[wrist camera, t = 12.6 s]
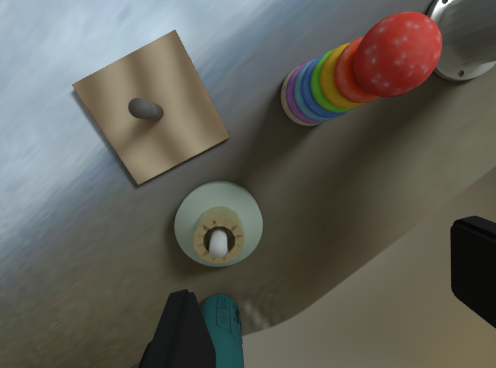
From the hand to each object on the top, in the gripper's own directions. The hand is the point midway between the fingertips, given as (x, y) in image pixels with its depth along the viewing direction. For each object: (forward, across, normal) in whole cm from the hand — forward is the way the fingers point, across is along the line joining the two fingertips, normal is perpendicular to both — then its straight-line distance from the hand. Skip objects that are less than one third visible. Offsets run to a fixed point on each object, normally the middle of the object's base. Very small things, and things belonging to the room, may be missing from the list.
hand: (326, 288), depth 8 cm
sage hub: (+25, +7, +7) cm, 27 cm away
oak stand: (+25, +11, -10) cm, 29 cm away
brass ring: (+22, +7, +7) cm, 24 cm away
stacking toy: (+26, -9, -7) cm, 29 cm away
